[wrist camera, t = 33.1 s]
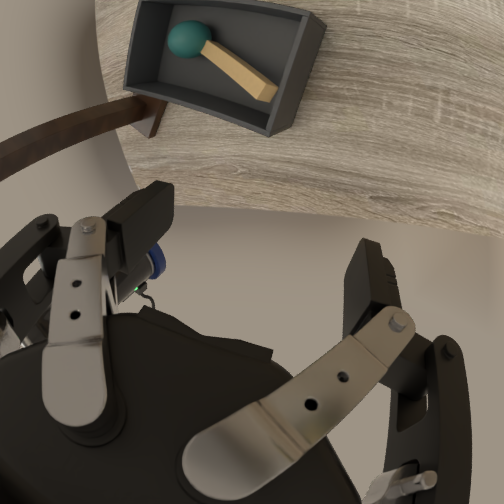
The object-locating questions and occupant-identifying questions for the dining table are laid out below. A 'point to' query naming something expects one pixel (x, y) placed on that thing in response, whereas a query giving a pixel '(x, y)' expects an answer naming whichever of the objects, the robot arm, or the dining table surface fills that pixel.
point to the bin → (237, 41)
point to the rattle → (219, 58)
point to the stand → (79, 130)
